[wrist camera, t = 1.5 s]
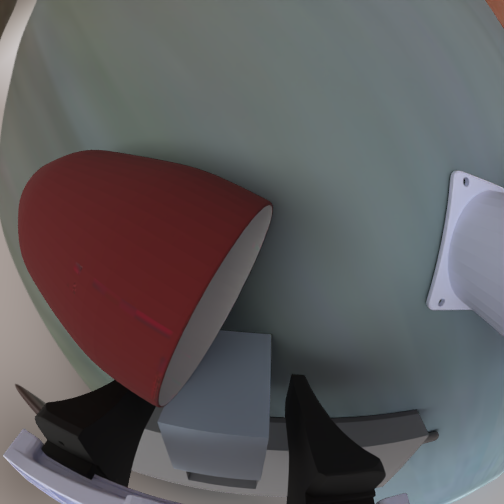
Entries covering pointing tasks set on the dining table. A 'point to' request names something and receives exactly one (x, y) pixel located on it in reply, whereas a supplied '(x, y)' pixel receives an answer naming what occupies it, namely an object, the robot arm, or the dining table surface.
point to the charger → (223, 410)
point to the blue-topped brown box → (497, 9)
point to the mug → (139, 260)
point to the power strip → (277, 454)
